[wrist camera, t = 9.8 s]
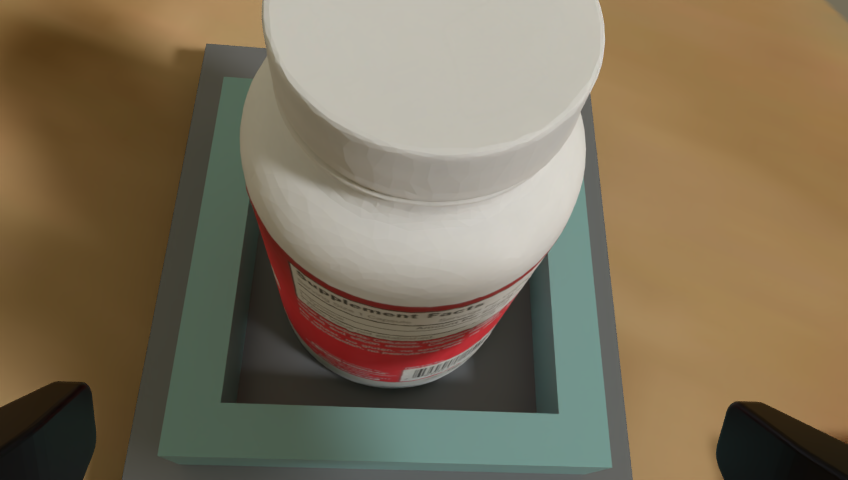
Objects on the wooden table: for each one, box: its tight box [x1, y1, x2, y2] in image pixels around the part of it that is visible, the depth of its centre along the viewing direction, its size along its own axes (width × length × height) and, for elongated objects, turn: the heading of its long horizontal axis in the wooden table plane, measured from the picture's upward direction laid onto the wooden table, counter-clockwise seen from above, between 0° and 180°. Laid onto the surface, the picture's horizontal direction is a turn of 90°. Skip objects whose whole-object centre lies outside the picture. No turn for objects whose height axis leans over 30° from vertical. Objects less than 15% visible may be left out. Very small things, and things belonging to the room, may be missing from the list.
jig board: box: [122, 44, 633, 480], centre depth 18 cm, size 20×13×4 cm, turn 179°
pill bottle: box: [240, 0, 605, 389], centre depth 14 cm, size 6×6×11 cm
